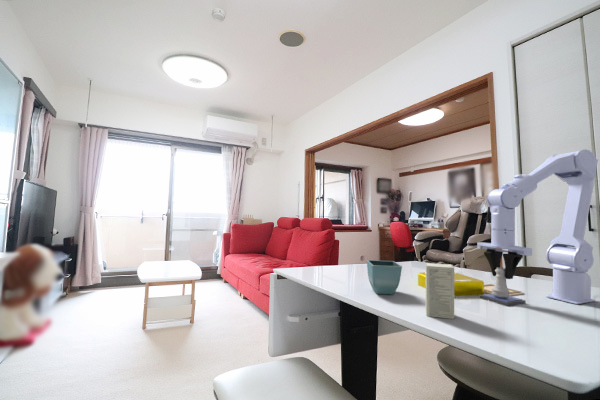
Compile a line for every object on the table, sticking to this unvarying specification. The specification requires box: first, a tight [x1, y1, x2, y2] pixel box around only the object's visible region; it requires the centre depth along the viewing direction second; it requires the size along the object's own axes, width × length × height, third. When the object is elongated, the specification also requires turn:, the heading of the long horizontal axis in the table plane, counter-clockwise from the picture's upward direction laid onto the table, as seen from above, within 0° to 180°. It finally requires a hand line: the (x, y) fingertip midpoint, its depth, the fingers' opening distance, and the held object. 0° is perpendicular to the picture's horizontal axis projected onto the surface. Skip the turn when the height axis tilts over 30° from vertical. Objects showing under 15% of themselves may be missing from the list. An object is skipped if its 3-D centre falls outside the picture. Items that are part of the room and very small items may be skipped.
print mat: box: [484, 283, 525, 297], centre depth 100 cm, size 11×11×1 cm
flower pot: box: [366, 259, 403, 295], centre depth 94 cm, size 9×9×9 cm
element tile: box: [417, 271, 485, 297], centre depth 101 cm, size 15×15×5 cm
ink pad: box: [479, 293, 526, 307], centre depth 89 cm, size 8×8×1 cm
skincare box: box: [425, 262, 455, 320], centre depth 75 cm, size 6×4×12 cm
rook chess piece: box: [492, 266, 510, 298], centre depth 89 cm, size 4×4×8 cm
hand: (502, 277), depth 89 cm, fingers closed on rook chess piece, 3 cm apart
